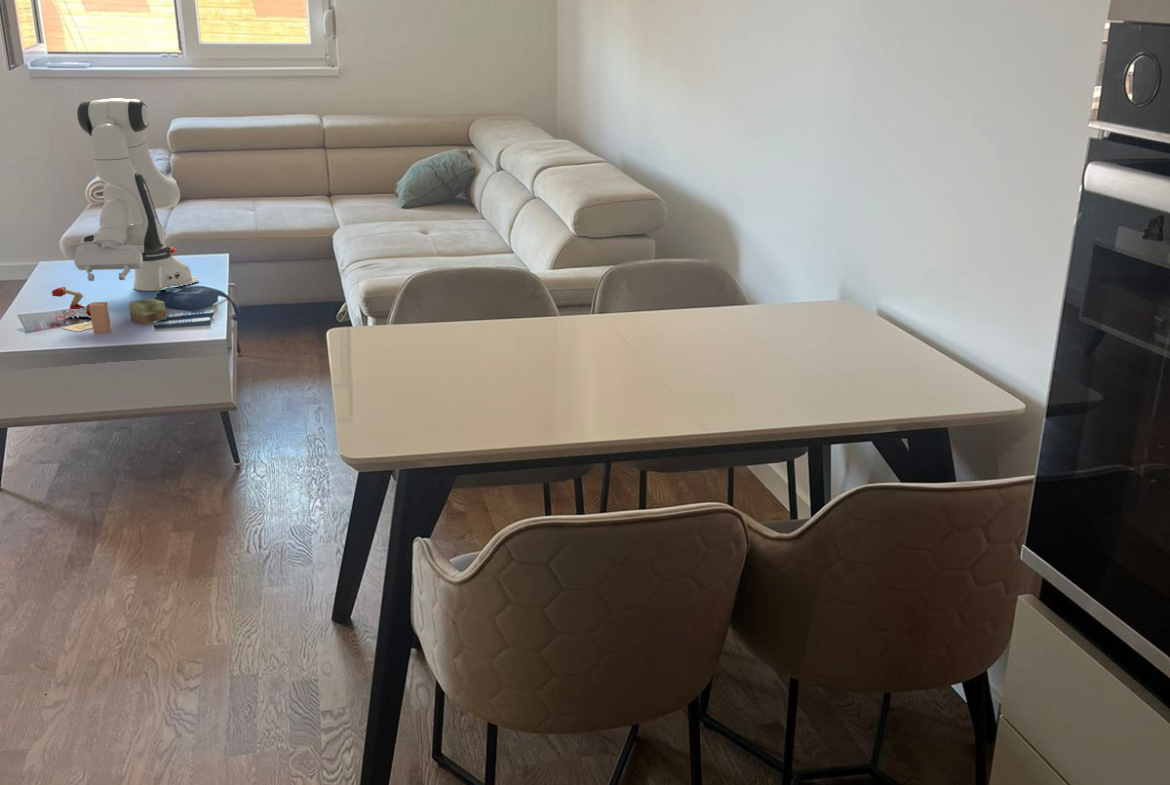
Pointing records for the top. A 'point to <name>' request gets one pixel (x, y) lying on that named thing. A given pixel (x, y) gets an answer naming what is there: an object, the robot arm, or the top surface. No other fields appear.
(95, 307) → the terracotta column block
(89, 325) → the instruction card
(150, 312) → the tower base
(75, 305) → the toy fire truck
